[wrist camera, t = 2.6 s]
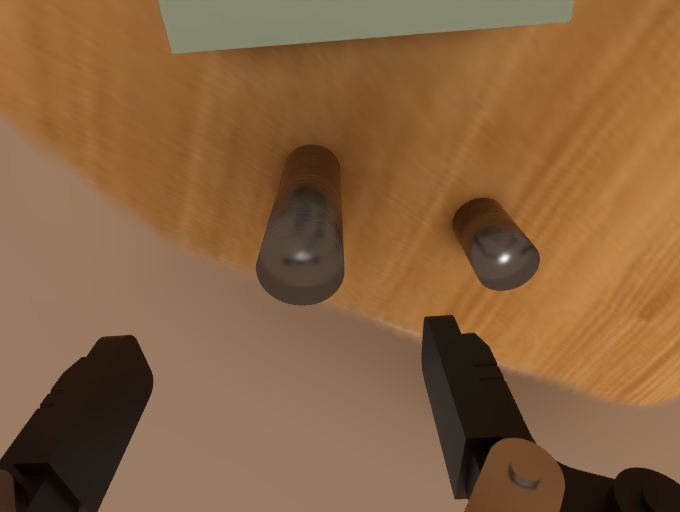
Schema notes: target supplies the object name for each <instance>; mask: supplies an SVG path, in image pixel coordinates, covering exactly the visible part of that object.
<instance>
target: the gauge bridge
mask: <svg viewBox="0 0 680 512" xmlns="http://www.w3.org/2000/svg"><path fill="white" fill-rule="evenodd" d="M158 3H159V6H160V10H161V14H162V18H163V21H164V25H165V29H166V33H167V36H168V40H169V44H170V48H171V51H172V54H177V53H190V52H202V51H214V50H227V49H239V48H252V47H264V46H276V45H289V44H301V43H314V42H326V41H339V40H351V39H363V38H376V37H388V36H401V35H413V34H426V33H438V32H450V31H463V30H475V29H488V28H500V27H512V26H525V25H537V24H550V23H562V22H570V19H571V14H572V10H573V5H574V0H158Z"/></svg>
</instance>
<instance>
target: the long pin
mask: <svg viewBox="0 0 680 512" xmlns="http://www.w3.org/2000/svg"><path fill="white" fill-rule="evenodd" d="M256 272H257V276H258V279H259V281H260V283H261V285H262V286H263V288H264V289H265V290H266V291H267V292H268V293H269V294H270V295H271V296H273V297H274V298H276V299H278V300H280V301H282V302H285V303H288V304H293V305H312V304H316V303H319V302H322V301H324V300H326V299H328V298H329V297H331V296H332V295H333V294H334V293H335V292H336V291H337V290H338V288H339V287H340V285H341V283H342V281H343V278H344V251H343V227H342V204H341V180H340V167H339V163H338V161H337V159H336V157H335V156H334V155H333V154H332V153H331V152H330V151H329V150H328V149H326V148H324V147H321V146H318V145H305V146H302V147H299V148H297V149H296V150H295V151H293V152H292V153H291V154H290V156H289V157H288V159H287V161H286V164H285V167H284V171H283V174H282V177H281V181H280V184H279V188H278V191H277V194H276V198H275V201H274V205H273V208H272V211H271V215H270V218H269V222H268V225H267V228H266V232H265V235H264V239H263V242H262V245H261V249H260V252H259V256H258V259H257V264H256Z"/></svg>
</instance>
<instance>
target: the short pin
mask: <svg viewBox="0 0 680 512" xmlns="http://www.w3.org/2000/svg"><path fill="white" fill-rule="evenodd" d="M453 231H454V233H455V235H456V237H457V239H458V241H459V243H460V245H461V247H462V249H463V250H464V252H465V254H466V256H467V258H468V260H469V262H470V264H471V266H472V267H473V269H474V271H475V273H476V275H477V277H478V279H479V281H480V282H481V283H482V284H483V285H484V286H485V287H487V288H489V289H492V290H497V291H505V290H511V289H514V288H517V287H519V286H521V285H523V284H524V283H526V282H527V281H528V280H529V279H530V278H531V277H532V276H533V275H534V274H535V272H536V271H537V269H538V266H539V262H540V256H539V253H538V251H537V249H536V248H535V246H534V245H533V244H532V243H531V242H530V240H529V239H528V238H527V237H526V236H525V234H524V233H523V232H522V231H521V230H520V228H519V227H518V226H517V225H516V224H515V222H514V221H513V220H512V219H511V217H510V216H509V215H508V214H507V213H506V211H505V210H504V209H503V208H502V207H501V205H500V204H499V203H497V202H496V201H494V200H492V199H489V198H478V199H474V200H471V201H469V202H467V203H466V204H464V205H463V206H462V207H461V208H460V209H459V210H458V211H457V213H456V214H455V216H454V219H453Z"/></svg>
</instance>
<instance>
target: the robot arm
mask: <svg viewBox="0 0 680 512" xmlns="http://www.w3.org/2000/svg"><path fill="white" fill-rule="evenodd" d="M422 371H423V376H424V381H425V385H426V389H427V393H428V397H429V400H430V404H431V408H432V412H433V416H434V420H435V424H436V428H437V432H438V436H439V440H440V443H441V447H442V451H443V455H444V459H445V463H446V467H447V471H448V475H449V479H450V483H451V487H452V490H453V494H454V498H455V499H468V504H467V506H466V508H465V511H464V512H680V484H678V483H677V482H675V481H674V480H672V479H671V478H669V477H667V476H665V475H663V474H661V473H659V472H656V471H653V470H650V469H646V468H629V469H625V470H623V471H622V472H620V473H619V474H618V475H617V477H616V479H612V478H608V477H604V476H600V475H596V474H592V473H588V472H584V471H580V470H576V469H573V468H570V467H568V466H566V465H563V464H561V463H559V462H558V461H556V460H555V459H554V458H553V457H552V456H551V455H550V454H549V453H548V452H547V451H546V450H544V449H543V448H542V447H540V446H539V445H537V444H536V442H535V441H534V440H533V438H532V436H531V434H530V433H529V430H528V428H527V426H526V424H525V422H524V420H523V417H522V415H521V413H520V411H519V409H518V407H517V405H516V403H515V400H514V399H513V396H512V394H511V392H510V390H509V388H508V386H507V383H506V381H504V378H503V375H502V373H501V371H500V369H499V367H498V366H497V362H496V360H495V358H494V356H493V354H492V352H491V349H490V347H489V346H488V345H487V344H486V343H485V342H484V341H483V340H482V339H480V338H479V337H478V336H477V335H476V334H475V333H467V334H461V332H460V330H459V327H458V325H457V322H456V320H455V318H454V316H453V315H444V316H429V317H425V318H424V326H423V341H422ZM152 388H153V375H152V371H151V369H150V367H149V365H148V363H147V361H146V358H145V356H144V354H143V352H142V350H141V348H140V346H139V344H138V341H137V339H136V338H135V337H134V336H132V335H124V336H107V337H102V338H100V339H99V340H98V341H97V342H96V344H95V345H94V347H93V348H92V350H91V351H90V352H89V354H88V355H87V357H81V358H80V359H79V360H78V361H77V362H75V364H73V365H72V366H71V367H70V368H68V369H67V370H66V371H65V372H64V373H63V374H62V375H61V377H60V378H59V379H58V381H57V382H56V383H55V385H54V386H53V388H52V389H51V393H50V394H48V395H47V396H46V397H45V399H44V400H43V402H42V403H41V404H40V408H39V409H37V410H36V411H35V412H34V414H33V415H32V417H31V418H30V419H29V421H28V422H27V424H26V425H25V426H24V428H23V429H22V430H21V432H20V434H19V435H18V436H17V438H16V439H15V440H14V442H13V443H12V444H11V446H10V447H9V448H8V450H7V451H6V453H5V454H4V455H3V457H2V458H1V460H0V512H98V509H99V507H100V505H101V503H102V501H103V498H104V496H105V494H106V492H107V490H108V488H109V485H110V483H111V481H112V479H113V477H114V474H115V472H116V470H117V468H118V465H119V463H120V461H121V459H122V457H123V455H124V453H125V450H126V448H127V446H128V444H129V442H130V439H131V437H132V435H133V433H134V431H135V428H136V426H137V424H138V422H139V420H140V417H141V415H142V413H143V411H144V409H145V406H146V404H147V402H148V400H149V398H150V396H151V393H152Z"/></svg>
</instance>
